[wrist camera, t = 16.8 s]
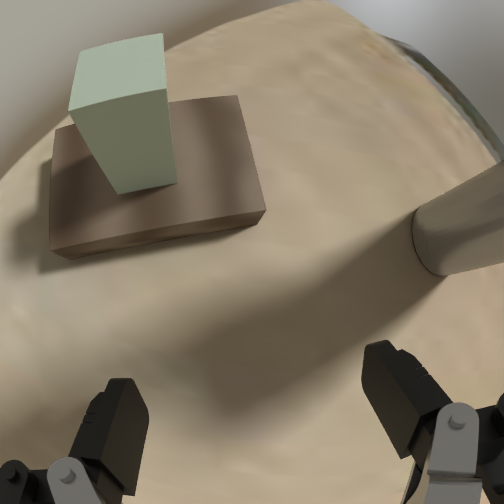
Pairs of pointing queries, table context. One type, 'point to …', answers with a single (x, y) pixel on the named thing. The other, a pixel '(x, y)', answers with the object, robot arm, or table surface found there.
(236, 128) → the walnut base
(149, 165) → the sage block
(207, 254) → the table surface
